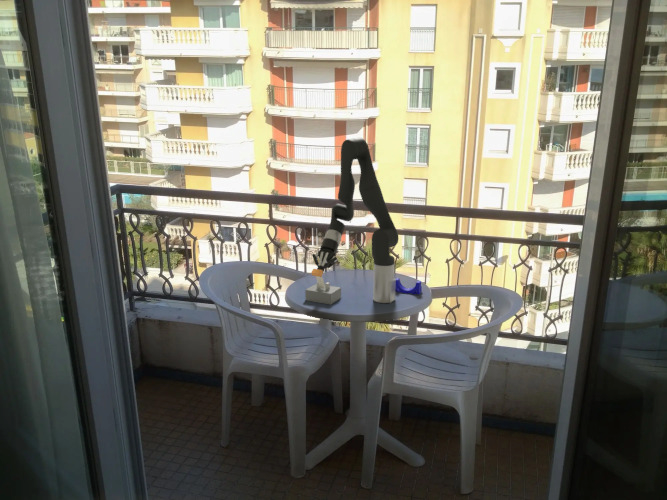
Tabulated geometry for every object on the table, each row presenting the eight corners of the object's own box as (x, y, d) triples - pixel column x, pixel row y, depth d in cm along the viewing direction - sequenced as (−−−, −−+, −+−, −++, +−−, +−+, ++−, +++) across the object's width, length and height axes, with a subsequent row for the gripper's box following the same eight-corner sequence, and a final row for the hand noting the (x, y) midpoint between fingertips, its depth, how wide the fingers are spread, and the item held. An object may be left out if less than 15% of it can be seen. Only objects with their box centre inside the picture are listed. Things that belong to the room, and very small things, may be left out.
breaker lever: (328, 285, 268) (322, 269, 261) (326, 289, 267) (320, 273, 260) (319, 284, 270) (313, 268, 263) (317, 288, 269) (311, 272, 262)
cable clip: (421, 292, 280) (422, 280, 278) (418, 295, 276) (419, 282, 274) (397, 289, 285) (397, 277, 283) (394, 291, 281) (394, 279, 279)
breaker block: (341, 298, 272) (341, 281, 270) (331, 304, 263) (331, 287, 261) (316, 294, 277) (315, 277, 275) (305, 300, 269) (305, 283, 267)
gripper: (315, 236, 272) (302, 268, 264) (341, 239, 266) (329, 272, 258) (321, 244, 278) (308, 276, 270) (346, 247, 272) (334, 280, 264)
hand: (318, 274), depth 264 cm, fingers closed
